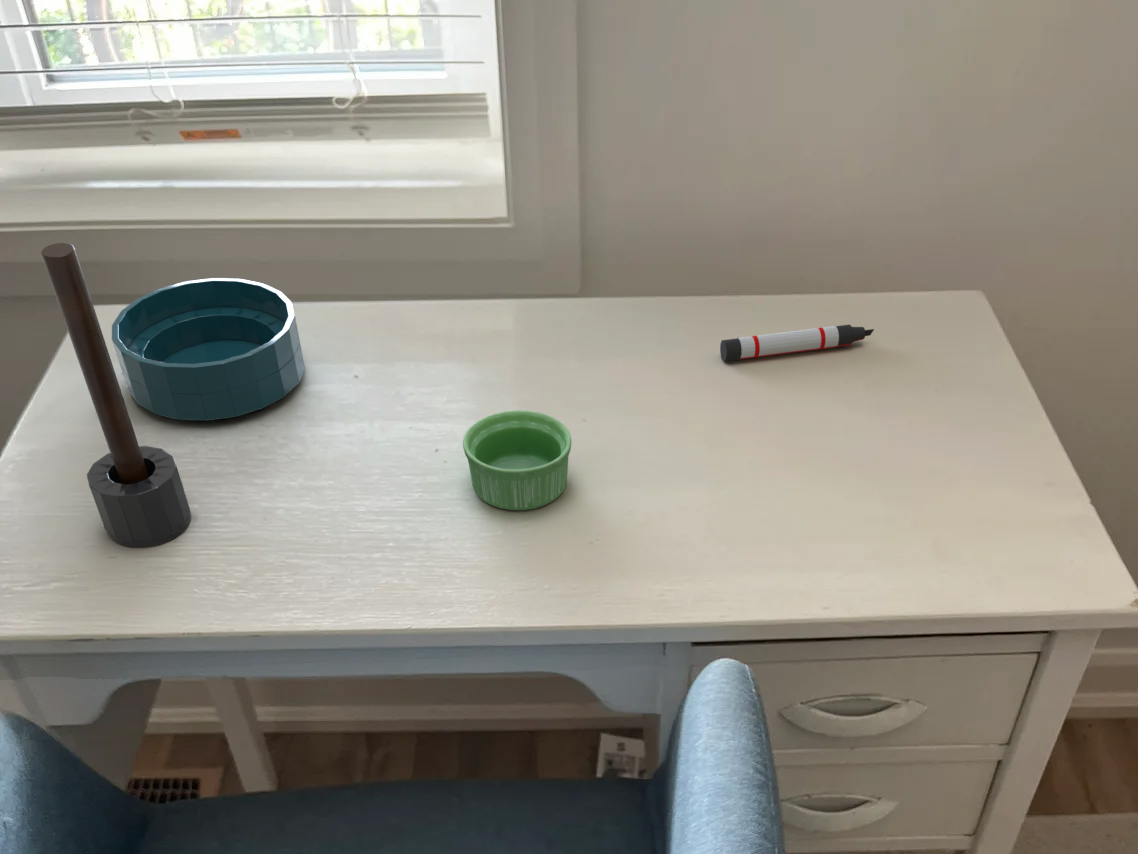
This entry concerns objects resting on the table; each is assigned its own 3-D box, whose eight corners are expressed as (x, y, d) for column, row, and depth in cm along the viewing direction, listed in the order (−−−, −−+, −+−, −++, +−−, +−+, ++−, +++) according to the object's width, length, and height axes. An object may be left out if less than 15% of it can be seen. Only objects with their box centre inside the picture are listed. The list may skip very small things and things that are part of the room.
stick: (129, 523, 97) (35, 256, 81) (138, 507, 99) (47, 242, 82) (156, 524, 97) (67, 257, 81) (164, 508, 99) (78, 243, 82)
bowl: (107, 425, 108) (86, 364, 103) (160, 334, 118) (143, 275, 114) (284, 431, 107) (271, 369, 103) (321, 339, 118) (310, 280, 113)
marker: (725, 365, 114) (727, 346, 113) (719, 355, 116) (721, 335, 114) (875, 346, 117) (878, 327, 115) (867, 336, 118) (871, 317, 116)
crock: (94, 546, 96) (74, 494, 92) (122, 495, 101) (103, 444, 97) (177, 549, 96) (161, 497, 92) (201, 498, 100) (186, 446, 97)
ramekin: (507, 443, 106) (504, 398, 102) (592, 475, 103) (592, 430, 99) (445, 493, 101) (440, 448, 98) (533, 529, 98) (531, 483, 94)
